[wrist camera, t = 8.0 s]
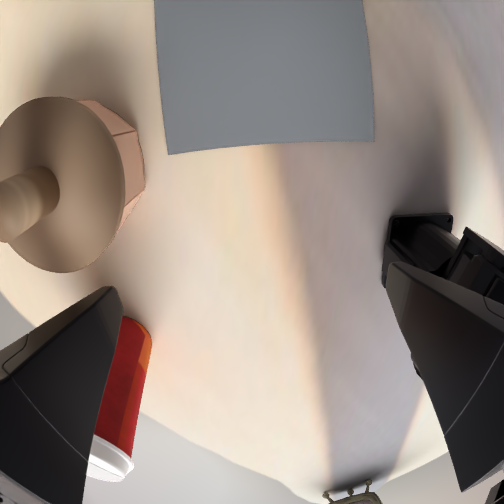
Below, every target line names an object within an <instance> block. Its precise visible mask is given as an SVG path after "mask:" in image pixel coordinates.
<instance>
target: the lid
mask: <svg viewBox="0 0 504 504" xmlns="http://www.w3.org/2000/svg"><path fill="white" fill-rule="evenodd" d="M125 195H126V192H125V175H124V168H123V164H122V160H121V156H120V153H119V150H118V148H117V145H116V143H115V141H114V139H113V137H112V135H111V133H110V131H109V130H108V128H107V127H106V125H105V124H104V122H103V121H102V120H101V119H100V118H99V117H98V116H97V115H96V114H95V113H94V112H93V111H92V110H91V109H89V108H88V107H87V106H85V105H83V104H81V103H80V102H77V101H75V100H72V99H69V98H64V97H43V98H38V99H34V100H31V101H29V102H26V103H25V104H23V105H21V106H20V107H18V108H17V109H16V110H15V111H13V112H12V113H11V114H10V115H9V116H8V118H7V119H6V120H5V121H4V123H3V124H2V125H1V127H0V241H1V242H4V243H8V244H9V245H10V246H11V247H12V248H13V250H14V251H15V252H16V253H18V254H19V255H20V256H21V257H22V258H23V259H25V260H26V261H27V262H29V263H31V264H32V265H34V266H36V267H38V268H40V269H43V270H46V271H50V272H56V273H68V272H74V271H77V270H80V269H83V268H84V267H86V266H88V265H90V264H91V263H92V262H94V261H95V260H96V259H97V258H98V257H99V256H100V255H101V254H102V253H103V252H104V250H105V249H106V248H107V247H108V246H109V244H110V243H111V241H112V240H113V238H114V237H115V234H116V232H117V230H118V228H119V225H120V222H121V219H122V216H123V211H124V206H125Z"/></svg>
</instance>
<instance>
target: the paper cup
mask: <svg viewBox="0 0 504 504" xmlns="http://www.w3.org/2000/svg"><path fill="white" fill-rule="evenodd" d="M151 348H152V340H151V337H150V335H149V333H148V332H147V330H146V329H145V328H144V327H143V326H142V325H141V324H139V323H138V322H136V321H135V320H133V319H131V318H128V317H125V316H122V320H121V325H120V330H119V335H118V340H117V345H116V350H115V354H114V357H113V361H112V364H111V368H110V371H109V375H108V378H107V382H106V386H105V390H104V393H103V397H102V401H101V405H100V409H99V414H98V418H97V422H96V427H95V431H94V436H93V441H92V446H91V451H90V456H89V461H87V462H88V468H87V474H86V475H87V476H90V477H93V478H96V479H100V480H104V481H112V482H119V481H122V480H123V478H124V477H125V476H126V475H127V473H128V472H130V471H131V470H132V469H133V468H134V462H133V460H132V459H131V455H132V449H133V442H134V436H135V430H136V425H137V419H138V414H139V408H140V403H141V398H142V393H143V388H144V383H145V378H146V373H147V368H148V364H149V359H150V354H151Z"/></svg>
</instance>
